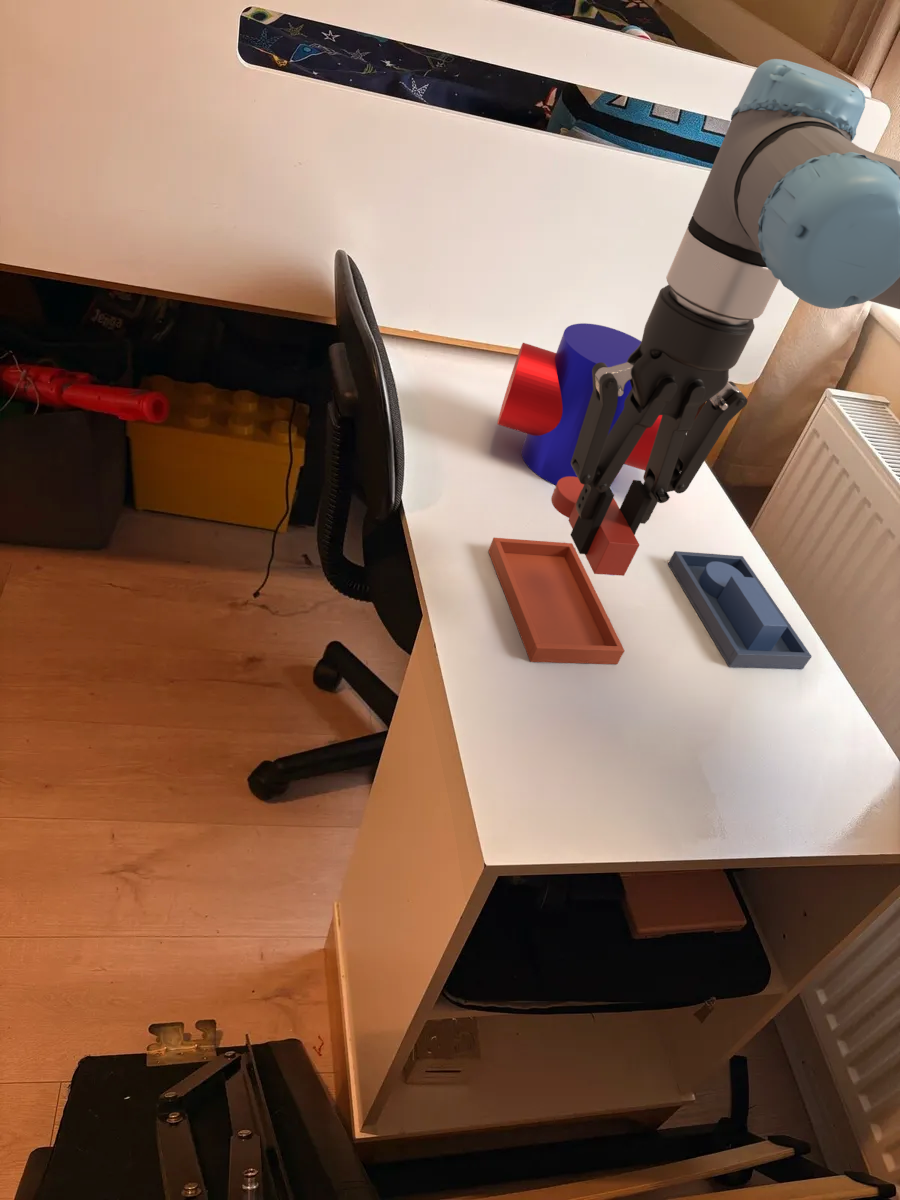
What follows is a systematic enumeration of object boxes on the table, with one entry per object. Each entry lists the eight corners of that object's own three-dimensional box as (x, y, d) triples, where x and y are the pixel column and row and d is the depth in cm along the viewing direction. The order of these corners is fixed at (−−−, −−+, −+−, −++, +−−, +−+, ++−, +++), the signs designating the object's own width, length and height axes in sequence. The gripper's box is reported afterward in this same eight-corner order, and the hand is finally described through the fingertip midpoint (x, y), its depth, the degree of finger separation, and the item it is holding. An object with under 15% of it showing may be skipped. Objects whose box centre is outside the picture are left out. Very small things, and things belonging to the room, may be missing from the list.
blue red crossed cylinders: (485, 463, 108) (526, 342, 98) (496, 418, 118) (534, 303, 108) (642, 512, 109) (698, 397, 99) (640, 463, 119) (691, 353, 109)
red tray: (617, 664, 87) (624, 650, 85) (530, 662, 84) (536, 647, 82) (566, 556, 98) (572, 543, 97) (488, 551, 95) (493, 537, 94)
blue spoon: (778, 651, 94) (795, 626, 92) (740, 649, 93) (756, 624, 91) (728, 574, 103) (742, 550, 101) (692, 571, 102) (706, 547, 99)
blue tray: (803, 669, 94) (812, 656, 93) (729, 667, 91) (737, 654, 90) (735, 568, 105) (742, 555, 104) (667, 563, 102) (674, 550, 101)
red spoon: (633, 576, 80) (649, 545, 77) (584, 573, 78) (599, 541, 76) (589, 493, 88) (602, 463, 86) (544, 489, 87) (557, 458, 84)
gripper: (775, 296, 72) (658, 526, 87) (597, 262, 67) (504, 513, 81) (823, 340, 67) (689, 578, 81) (633, 308, 61) (527, 567, 76)
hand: (597, 545), depth 81 cm, fingers closed on red spoon, 3 cm apart
